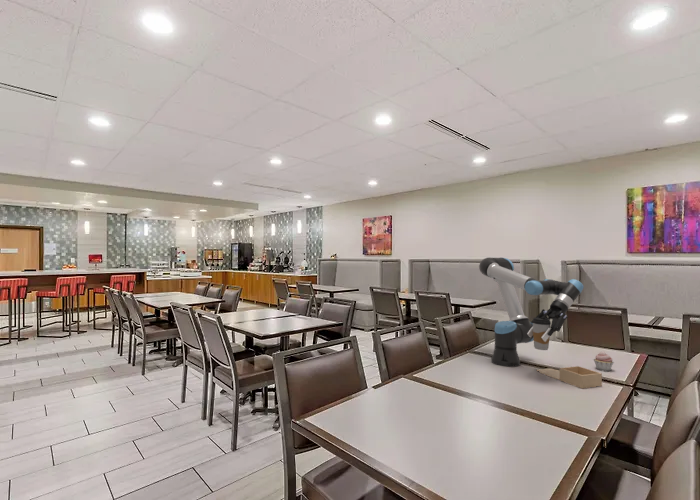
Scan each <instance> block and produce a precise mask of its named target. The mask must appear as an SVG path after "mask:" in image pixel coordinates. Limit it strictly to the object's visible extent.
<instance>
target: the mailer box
mask: <svg viewBox="0 0 700 500" xmlns="http://www.w3.org/2000/svg"><path fill="white" fill-rule="evenodd" d="M536 371H537V372H538V371H539V374H542V375H544V374H545V376H548V377H549V378H552V379H555V380H557V381H558V380H559V381H561V382H564V383H566V384H569V385H572V386H574V387H577V388H579V389H582V390H584V389H591V388H590V387H592V388H597V387H596V386H600V387H602V386H603V379H602V376H603V374H602V372H598V371H595V370H591V369H589V368H586V367H583V366H578V365H577V366H568V367H559V369H554V368H551V367H548V368H541V369H536Z"/></svg>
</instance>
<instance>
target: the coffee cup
mask: <svg viewBox="0 0 700 500" xmlns="http://www.w3.org/2000/svg"><path fill="white" fill-rule="evenodd" d="M532 320H533V322H532V323H533V347H534V349H536V350H540V351H548V349H549V347H550V345H549V344H550V337H551V336H549V338H548V339H547V340H546V342H545V341H544V340H543V339H542V338H541V337H542V336H543V335H544V333H545V332H546V331H547V329H548V328H550V327H551V324H552V321H551V319H547V318H539V317H537V316H536V317H533V318H532ZM550 329H551V328H550Z"/></svg>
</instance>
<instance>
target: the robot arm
mask: <svg viewBox="0 0 700 500" xmlns="http://www.w3.org/2000/svg"><path fill="white" fill-rule="evenodd" d="M478 268H479V269H478V270H479V271H480V273H481V274H482V275H483V276H486V277H488V278H491V279H493V281H494V282H496V283H497V285H498V288H499V292H500V294H501V297H502V299H503V302H504V303H503V304H504V306H505V308H506V312H507V316H508V317H509V320H502V321H498V322H496V323H495V324H494V330H493V331H494V349H493V352H492V355H491V363H493V364H495V365H498V366H503V367H519V366H521V360H520V357H519V354H518V351H517V347H518V346H517V344H528V343H532V342H534V340H533V323H532V322H533V319H532V320H531V321H530V319H529V317H527V315H525V313H524V311H523V307H522V304H521V302H520V299H519V296H518V293H517V290H516V288H520V289H522V290H523V291H525V292H526V293H527V295H528V294H529V295H531V296H542V295H543V296H544V295H546V296H547V295H554V296H556V297H555V298H554V300H553V301H552V302H551V304H550V305H549V306H550V307H549V309H547V310H546V309H544V308H543V309H541V311H540V312H539V313H538V315H536V317H539V318H547V319H550V320H552V321H551V325H550V328H548V329H547V331H546V332H545V333H544V335H543V336H542V337H541V338H542V339H543V340H544V341H545V342H546V340H547V339H548V338H549V336H550V337H551V336H552V335H553V334H554V333H555V332H557V333H558V332H560V331H561V329H562V327H563V325H564V324H565V321H566V320H567V319H568V316H567V312H568V310H569V309H570V308H571V306H573V304H574V302H575V300H576V299H578V297H579V296H580V295H581V293H582V291H583V289H584V284H583V283H582V282H581V281H579V280H578V279H575V278H572V279H569V280H568V281H567V282H566V281H565V282H564V281H559V280H554V279H552V278H551V279H548V278H546V279H542V280H539V279H536V278H533V277H530V276H528V275H525V274H522V273H519V272H517V271H515V270H514V269H515V267H514V263H513V262H512V260H510V259H509V258H505V257H486V258H483V259H482V260H480V263H479V265H478ZM515 287H516V288H515ZM549 339H550V338H549Z"/></svg>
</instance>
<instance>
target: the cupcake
mask: <svg viewBox="0 0 700 500" xmlns="http://www.w3.org/2000/svg"><path fill="white" fill-rule="evenodd" d="M592 360H593V361H594V363H595V367H596V369H597V370H599V371H602V370H604V371H603V372H610V371H611V370H612V367H613V365H614V363H615V362H614V361H613V358H612V357H611V356H610V354H607V353H606V352H605V351H600V352H598V354H596V355H595V358H594V359H592Z"/></svg>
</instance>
